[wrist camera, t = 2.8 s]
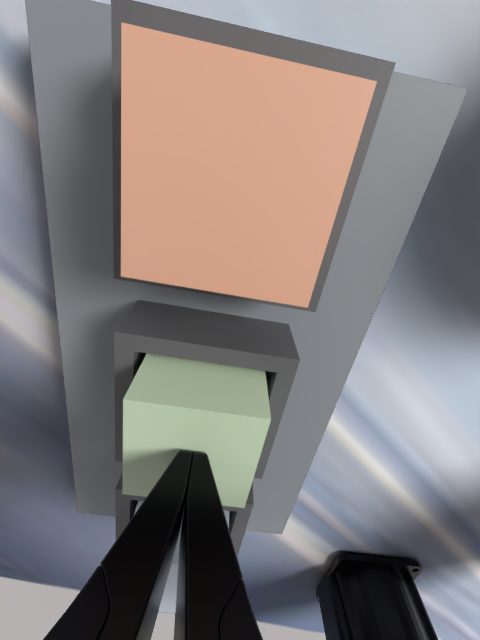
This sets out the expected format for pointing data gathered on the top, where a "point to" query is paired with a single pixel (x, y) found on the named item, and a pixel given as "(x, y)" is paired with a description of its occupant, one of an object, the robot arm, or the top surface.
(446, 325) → the top surface
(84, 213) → the button panel
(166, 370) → the sage button
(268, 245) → the terracotta button
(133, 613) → the robot arm
